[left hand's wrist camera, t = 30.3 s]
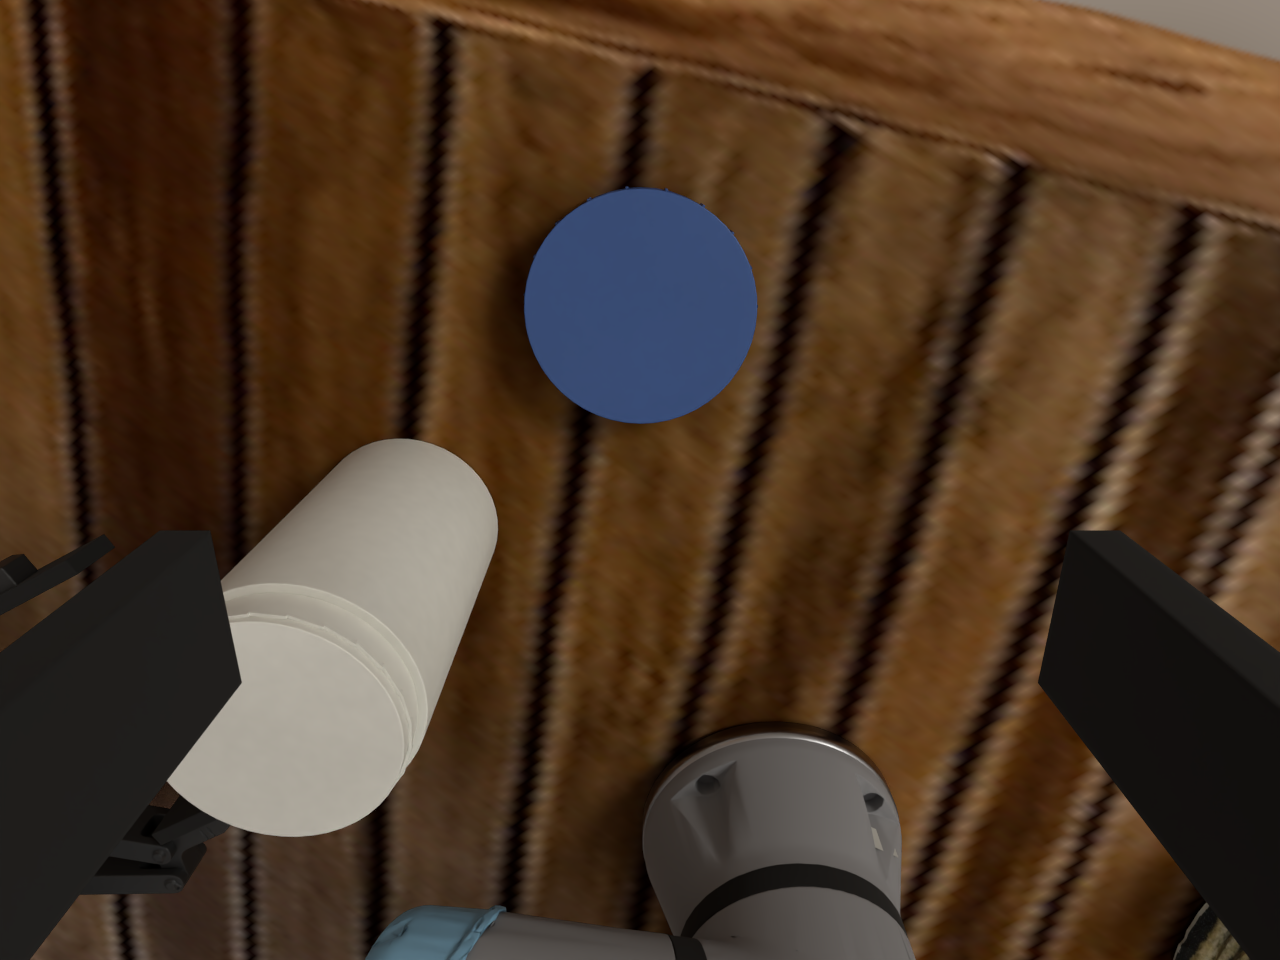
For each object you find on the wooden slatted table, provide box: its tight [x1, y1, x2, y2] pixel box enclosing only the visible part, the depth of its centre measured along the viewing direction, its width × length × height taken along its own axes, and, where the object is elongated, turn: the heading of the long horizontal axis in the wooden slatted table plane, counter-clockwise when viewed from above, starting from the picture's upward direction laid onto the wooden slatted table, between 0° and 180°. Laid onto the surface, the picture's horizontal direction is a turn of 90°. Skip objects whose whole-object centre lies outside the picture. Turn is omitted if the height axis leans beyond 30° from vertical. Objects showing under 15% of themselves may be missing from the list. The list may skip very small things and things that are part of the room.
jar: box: [167, 439, 498, 837], centre depth 35 cm, size 9×9×17 cm
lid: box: [524, 186, 758, 424], centre depth 38 cm, size 11×11×2 cm
